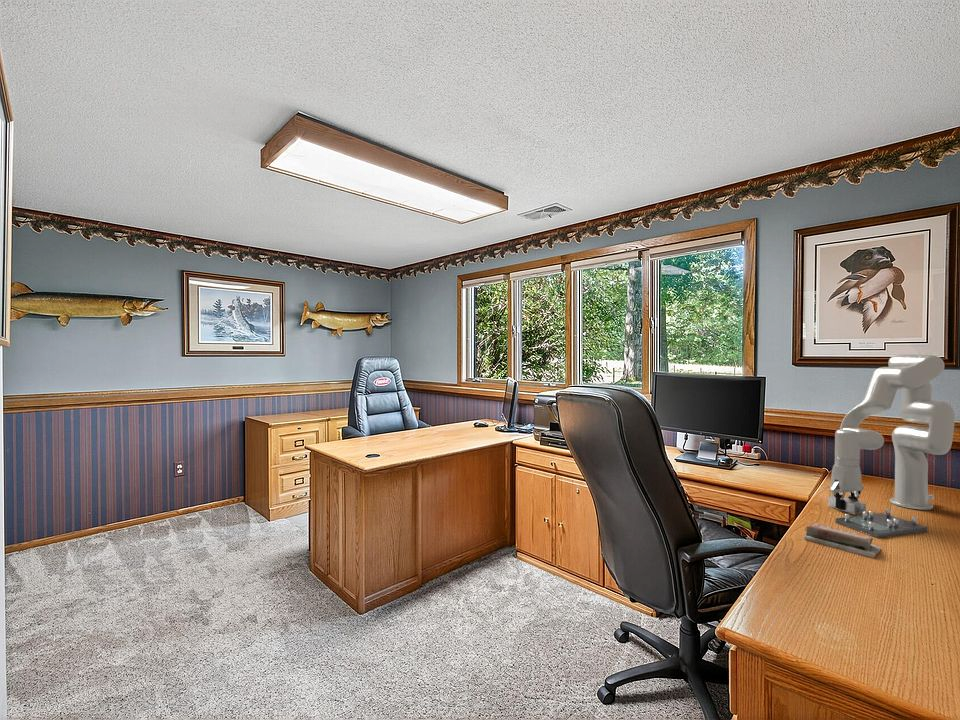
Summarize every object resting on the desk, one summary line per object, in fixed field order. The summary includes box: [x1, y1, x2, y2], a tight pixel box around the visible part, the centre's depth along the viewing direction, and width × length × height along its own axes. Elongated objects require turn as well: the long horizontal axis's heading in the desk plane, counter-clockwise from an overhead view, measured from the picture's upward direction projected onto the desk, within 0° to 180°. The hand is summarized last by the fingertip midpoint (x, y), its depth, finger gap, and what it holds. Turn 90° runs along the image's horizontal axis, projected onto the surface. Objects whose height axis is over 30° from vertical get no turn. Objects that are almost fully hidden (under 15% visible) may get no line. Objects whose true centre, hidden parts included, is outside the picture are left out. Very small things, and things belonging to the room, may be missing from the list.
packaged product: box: [803, 522, 882, 559], centre depth 145 cm, size 18×5×10 cm
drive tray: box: [834, 508, 928, 539], centre depth 159 cm, size 22×14×4 cm, turn 103°
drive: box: [828, 495, 867, 516], centre depth 176 cm, size 6×10×4 cm, turn 13°
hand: (846, 507), depth 176 cm, fingers closed on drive, 5 cm apart
